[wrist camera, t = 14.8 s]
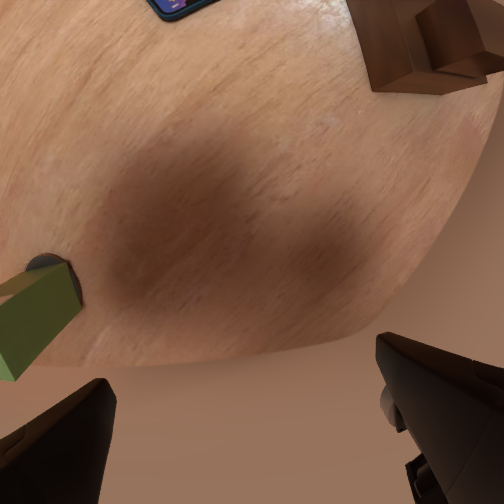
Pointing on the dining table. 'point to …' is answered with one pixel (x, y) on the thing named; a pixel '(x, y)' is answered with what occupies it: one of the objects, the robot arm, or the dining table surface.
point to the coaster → (52, 259)
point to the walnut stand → (429, 43)
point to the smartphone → (175, 7)
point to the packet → (33, 315)
